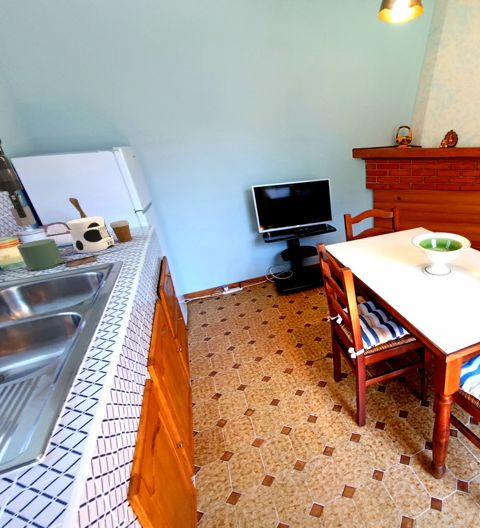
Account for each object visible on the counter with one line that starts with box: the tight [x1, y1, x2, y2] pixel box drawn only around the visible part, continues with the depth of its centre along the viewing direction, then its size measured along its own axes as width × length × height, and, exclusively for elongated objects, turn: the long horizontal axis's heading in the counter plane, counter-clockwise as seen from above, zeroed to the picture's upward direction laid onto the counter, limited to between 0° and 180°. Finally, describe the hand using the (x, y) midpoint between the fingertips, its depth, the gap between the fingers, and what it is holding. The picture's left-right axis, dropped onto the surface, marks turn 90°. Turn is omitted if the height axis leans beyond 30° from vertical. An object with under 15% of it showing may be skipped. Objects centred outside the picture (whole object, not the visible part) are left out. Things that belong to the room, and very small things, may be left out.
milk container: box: [66, 216, 115, 255], centre depth 164 cm, size 17×17×18 cm
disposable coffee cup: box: [109, 219, 133, 244], centre depth 182 cm, size 10×10×12 cm
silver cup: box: [9, 205, 37, 227], centre depth 139 cm, size 6×6×8 cm
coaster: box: [66, 255, 98, 268], centre depth 152 cm, size 11×11×1 cm
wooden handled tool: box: [68, 197, 88, 219], centre depth 179 cm, size 7×19×28 cm, turn 44°
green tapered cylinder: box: [16, 238, 66, 272], centre depth 146 cm, size 14×14×12 cm
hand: (23, 216), depth 139 cm, fingers closed on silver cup, 6 cm apart
